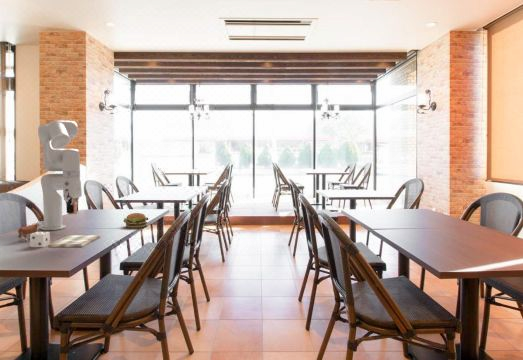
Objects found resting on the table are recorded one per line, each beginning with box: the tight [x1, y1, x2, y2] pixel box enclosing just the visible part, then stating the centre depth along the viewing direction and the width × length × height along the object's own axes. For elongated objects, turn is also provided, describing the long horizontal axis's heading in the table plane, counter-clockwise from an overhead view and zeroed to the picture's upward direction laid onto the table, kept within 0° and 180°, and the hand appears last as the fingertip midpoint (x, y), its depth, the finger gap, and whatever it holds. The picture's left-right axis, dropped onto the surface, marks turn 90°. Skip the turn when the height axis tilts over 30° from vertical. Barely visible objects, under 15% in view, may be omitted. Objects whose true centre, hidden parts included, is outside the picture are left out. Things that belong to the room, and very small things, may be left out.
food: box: [122, 212, 149, 229], centre depth 240 cm, size 14×14×8 cm
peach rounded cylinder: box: [67, 197, 78, 215], centre depth 195 cm, size 4×4×8 cm
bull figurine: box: [17, 221, 43, 242], centre depth 203 cm, size 4×13×8 cm, turn 161°
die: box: [29, 231, 51, 248], centre depth 190 cm, size 6×6×6 cm
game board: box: [47, 234, 101, 248], centre depth 198 cm, size 16×21×1 cm
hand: (72, 211), depth 195 cm, fingers closed on peach rounded cylinder, 4 cm apart
